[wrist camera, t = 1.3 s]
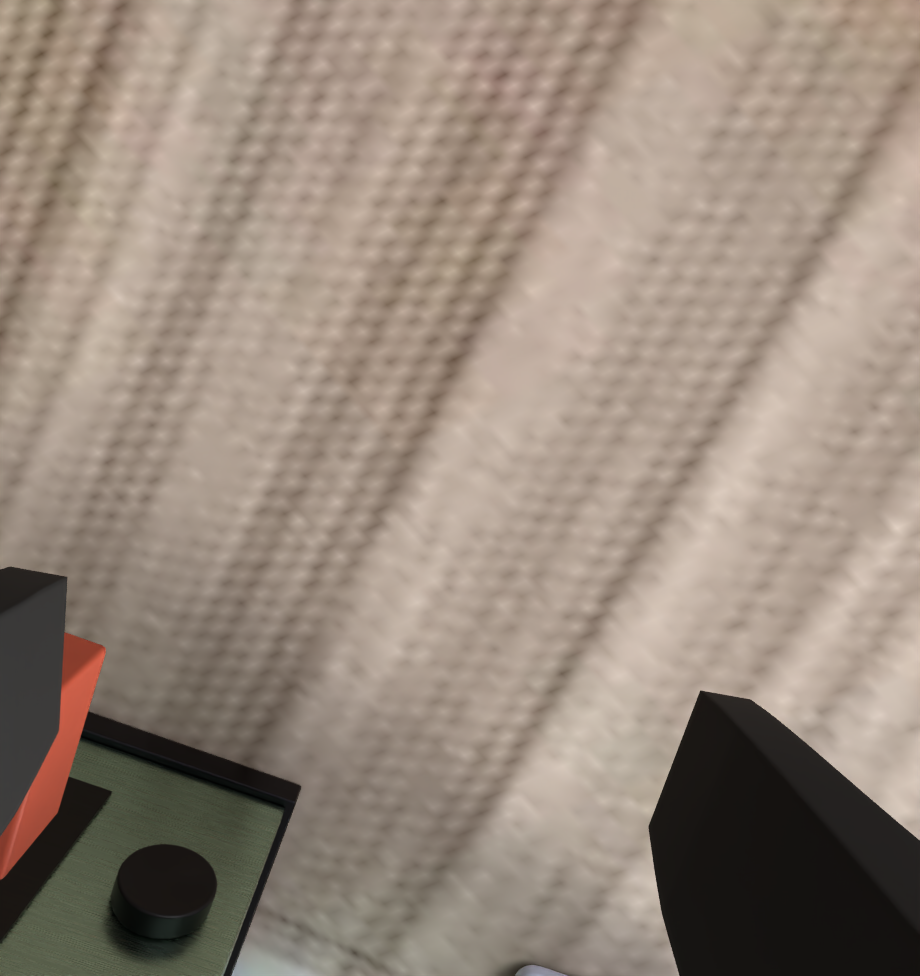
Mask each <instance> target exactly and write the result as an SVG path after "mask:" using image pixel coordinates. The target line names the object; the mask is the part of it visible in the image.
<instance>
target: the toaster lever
mask: <svg viewBox="0 0 920 976" xmlns="http://www.w3.org/2000/svg"><path fill="white" fill-rule="evenodd" d="M105 653H106V649H105V647H104V646H102V645H100V644H97V643H94V642H91V641H88V640H85V639H82V638H80V637H77V636H74V635H71V634H68V633H65V632H64V649H63V668H62V687H61V706H60V725H59V732H58V734H57V736H56V738H55V740H54V742H53V744H52V746H51V748H50V750H49V752H48V754H47V756H46V758H45V760H44V762H43V764H42V766H41V768H40V770H39V772H38V774H37V776H36V777H35V779H34V781H33V783H32V785H31V787H30V789H29V790H28V792H27V794H26V796H25V798H24V800H23V801H22V803H21V805H20V807H19V809H18V811H17V813H16V814H15V816H14V817H13V819H12V820H11V822H10V823H9V825H8V826H7V828H6V829H5V831H4V832H3V834H2V835H1V836H0V880H1V879H3V878H4V877H5V876H6V875H7V873H8V872H9V871H10V870H11V869H12V867H13V866H14V865H15V864H16V863H17V861H18V860H19V859H20V858H21V856H22V855H23V854H24V853H25V852H26V850H27V849H28V848H29V847H30V846H31V844H32V843H33V842H34V841H35V840H36V838H37V837H38V836H39V835H40V833H41V832H42V831H43V830H44V829H45V827H46V826H47V825H48V824H49V823H50V821H51V820H52V819H53V818H54V816H55V815H56V814H57V813H58V810H59V806H60V803H61V800H62V796H63V793H64V790H65V786H66V783H67V780H68V776H69V773H70V770H71V766H72V763H73V760H74V756H75V753H76V750H77V746H78V743H79V740H80V737H81V733H82V730H83V727H84V723H85V720H86V717H87V713H88V710H89V707H90V703H91V700H92V697H93V693H94V690H95V687H96V683H97V680H98V677H99V673H100V670H101V667H102V663H103V660H104V657H105Z"/></svg>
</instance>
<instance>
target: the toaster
mask: <svg viewBox="0 0 920 976" xmlns="http://www.w3.org/2000/svg"><path fill="white" fill-rule="evenodd" d="M300 791H301V786H300V785H298V784H295V783H292V782H289V781H287V780H284V779H281V778H278V777H275V776H272V775H269V774H266V773H264V772H261V771H258V770H255V769H252V768H249V767H246V766H243V765H241V764H238V763H235V762H232V761H229V760H226V759H223V758H220V757H217V756H215V755H212V754H209V753H206V752H203V751H200V750H197V749H194V748H192V747H189V746H186V745H183V744H180V743H177V742H174V741H171V740H169V739H166V738H163V737H160V736H157V735H154V734H151V733H148V732H146V731H143V730H140V729H137V728H134V727H131V726H128V725H125V724H122V723H120V722H117V721H114V720H111V719H108V718H105V717H102V716H99V715H97V714H94V713H91V712H88V713H87V717H86V720H85V723H84V727H83V730H82V733H81V737H80V740H79V743H78V746H77V750H76V753H75V756H74V760H73V763H72V766H71V770H70V773H69V776H68V780H67V783H66V786H65V790H64V793H63V796H62V800H61V803H60V806H59V810H58V813H57V814H56V815H55V816H54V818H53V819H52V820H51V821H50V823H49V824H48V825H47V826H46V827H45V829H44V830H43V831H42V832H41V833H40V835H39V836H38V837H37V838H36V840H35V841H34V842H33V843H32V844H31V846H30V847H29V848H28V849H27V850H26V852H25V853H24V854H23V855H22V856H21V858H20V859H19V860H18V861H17V863H16V864H15V865H14V866H13V867H12V869H11V870H10V871H9V872H8V873H7V875H6V876H5V877H4V878H3V879H1V880H0V976H231V975H232V973H233V970H234V967H235V965H236V962H237V959H238V957H239V954H240V951H241V949H242V946H243V943H244V941H245V938H246V935H247V933H248V930H249V927H250V925H251V922H252V919H253V917H254V914H255V911H256V909H257V906H258V903H259V900H260V898H261V895H262V892H263V890H264V887H265V884H266V882H267V879H268V876H269V874H270V871H271V868H272V866H273V863H274V860H275V858H276V855H277V852H278V850H279V847H280V844H281V842H282V839H283V836H284V834H285V831H286V828H287V826H288V823H289V820H290V818H291V815H292V812H293V810H294V807H295V804H296V802H297V799H298V796H299V793H300Z"/></svg>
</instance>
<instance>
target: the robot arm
mask: <svg viewBox="0 0 920 976" xmlns="http://www.w3.org/2000/svg"><path fill="white" fill-rule="evenodd" d="M66 592H67V577H65V576H59V575H53V574H48V573H42V572H37V571H31V570H26V569H20V568H14V567H7V568H4V569H1V570H0V836H1V835H2V834H3V832H4V831H5V829H6V828H7V826H8V825H9V823H10V822H11V820H12V819H13V817H14V816H15V814H16V813H17V811H18V809H19V807H20V805H21V803H22V801H23V800H24V798H25V796H26V794H27V792H28V790H29V789H30V787H31V785H32V783H33V781H34V779H35V777H36V776H37V774H38V772H39V770H40V768H41V766H42V764H43V762H44V760H45V758H46V756H47V754H48V752H49V750H50V748H51V746H52V744H53V742H54V740H55V738H56V736H57V734H58V732H59V725H60V706H61V687H62V668H63V649H64V630H65V611H66ZM649 834H650V841H651V848H652V855H653V862H654V870H655V876H656V882H657V888H658V893H659V899H660V905H661V911H662V915H663V919H664V922H665V926H666V930H667V933H668V937H669V940H670V944H671V947H672V951H673V954H674V958H675V961H676V965H677V968H678V972H679V975H680V976H920V840H918V839H917V838H916V837H915V836H914V835H912V834H911V833H910V832H909V831H908V830H906V829H905V828H904V827H903V826H902V825H900V824H899V823H898V822H897V821H896V820H895V819H893V818H892V817H891V816H890V815H889V814H888V813H886V812H885V811H884V810H883V809H882V808H881V807H879V806H878V805H877V804H876V803H875V802H873V801H872V800H871V799H870V798H869V797H868V796H867V795H865V794H864V793H863V792H862V791H861V790H860V789H858V788H857V787H856V786H855V785H854V784H853V783H851V782H850V781H849V780H848V779H847V778H846V777H845V776H843V775H842V774H841V773H840V772H839V771H838V770H836V769H835V768H834V767H833V766H832V765H831V764H830V763H828V762H827V761H826V760H825V759H824V758H823V757H821V756H820V755H819V754H818V753H817V752H816V751H814V750H813V749H812V748H811V747H810V746H809V745H807V744H806V743H805V742H804V741H803V740H802V739H800V738H799V737H798V736H797V735H796V734H794V733H793V732H792V731H791V730H790V729H788V728H787V727H786V726H785V725H784V724H782V723H781V722H780V721H779V720H777V719H776V718H775V717H774V716H772V715H771V714H770V713H768V712H767V711H766V710H764V709H763V708H762V707H760V706H759V705H757V704H756V703H755V702H753V701H752V700H750V699H744V698H739V697H733V696H728V695H722V694H717V693H711V692H705V691H700V693H699V696H698V698H697V701H696V703H695V706H694V709H693V711H692V714H691V717H690V719H689V722H688V724H687V727H686V730H685V732H684V735H683V738H682V740H681V743H680V745H679V748H678V751H677V753H676V756H675V759H674V761H673V764H672V766H671V769H670V772H669V774H668V777H667V780H666V782H665V785H664V787H663V790H662V793H661V795H660V798H659V801H658V803H657V806H656V808H655V811H654V814H653V816H652V819H651V822H650V824H649ZM515 976H568V975H565V974H562V973H559V972H556V971H553V970H550V969H547V968H544V967H541V966H537V965H528V966H524V967H523V968H521V969H519V971H518V972H517V973H516V974H515Z"/></svg>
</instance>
